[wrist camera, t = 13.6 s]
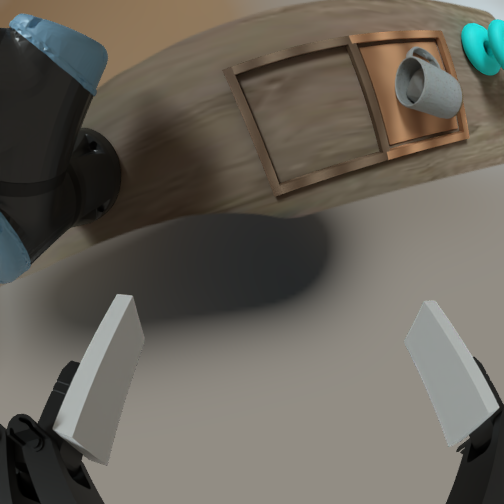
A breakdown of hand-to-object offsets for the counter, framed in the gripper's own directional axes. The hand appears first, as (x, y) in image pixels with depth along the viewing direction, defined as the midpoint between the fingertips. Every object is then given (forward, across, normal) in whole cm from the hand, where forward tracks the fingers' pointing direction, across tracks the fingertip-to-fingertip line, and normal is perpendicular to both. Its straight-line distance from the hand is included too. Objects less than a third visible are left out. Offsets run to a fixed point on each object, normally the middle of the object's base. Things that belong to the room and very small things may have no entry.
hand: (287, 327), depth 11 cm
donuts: (+29, +36, +29) cm, 55 cm away
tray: (+29, +14, +12) cm, 34 cm away
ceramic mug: (+29, +22, +17) cm, 40 cm away
